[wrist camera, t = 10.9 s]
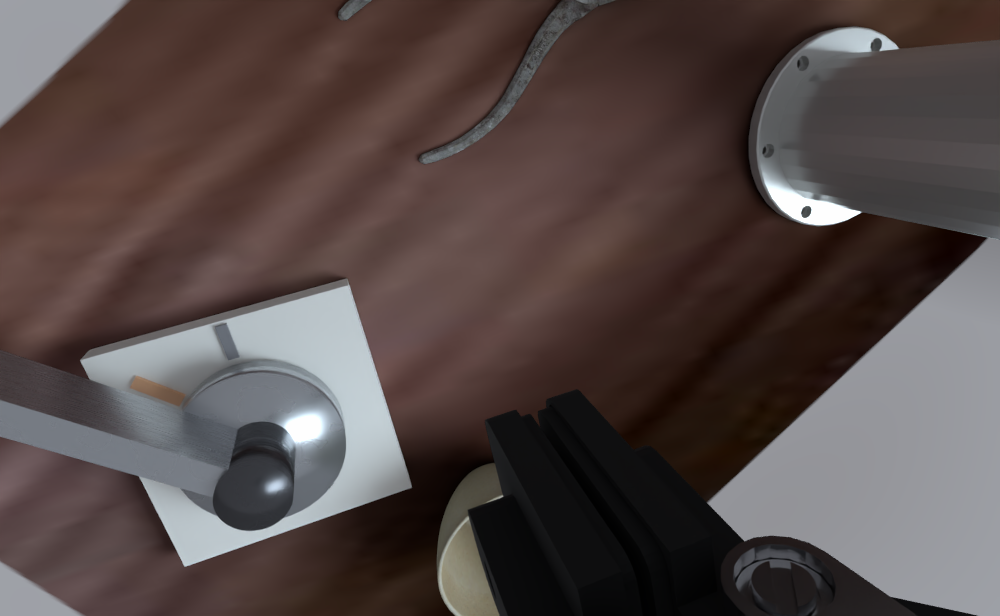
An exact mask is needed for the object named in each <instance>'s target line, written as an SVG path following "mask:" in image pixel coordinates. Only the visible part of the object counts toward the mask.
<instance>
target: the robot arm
mask: <svg viewBox="0 0 1000 616" xmlns="http://www.w3.org/2000/svg"><path fill="white" fill-rule="evenodd" d="M749 161H750V166H751V172H752V176H753V178H754V181H755V184H756V186H757V189H758V191H759V192H760V194H761V195H762V197H763V198H764V200H765V201H766V203H767V204H768V205H769V206H770V207H771V208H772V209H773V210H774V211H775V212H777V213H778V214H780V215H782V216H783V217H785V218H787V219H789V220H792V221H795V222H799V223H802V224H807V225H814V226H825V225H833V224H836V223H840V222H843V221H846V220H848V219H850V218H852V217H854V216H856V215H858V214H860V213H861V212H865V213H870V214H875V215H880V216H885V217H890V218H895V219H900V220H905V221H910V222H915V223H920V224H925V225H930V226H935V227H940V228H945V229H950V230H954V231H959V232H964V233H969V234H974V235H979V236H984V237H990V238H995V239H999V240H1000V40H993V41H982V42H971V43H960V44H949V45H938V46H927V47H916V48H905V49H899V48H898V47H897V45H896V44H895V43H894V42H893V41H891V40H890V39H889V38H888V37H886V36H885V35H884V34H881V33H879V32H877V31H875V30H872V29H870V28H863V27H856V26H854V27H844V28H836V29H831V30H827V31H823V32H820V33H818V34H816V35H814V36H812V37H810V38H807V39H805V40H804V41H803V42H801V43H800V44H799V45H797V46H796V47H795V48H793V49H792V50H791V51H790V52H789V53H788V54H787V55H786V56H785V57H784V58H783V59H782V60H781V61H780V62H779V63H778V65H777V66H776V67H775V69H774V70H773V72H772V73H771V75H770V76H769V78H768V79H767V81H766V82H765V85H764V87H763V89H762V91H761V93H760V95H759V97H758V99H757V102H756V106H755V109H754V112H753V115H752V119H751V125H750V132H749ZM546 407H547V408H546V409H543V410H540V411H538V418H539V423H540V427H539V425H538V424H537V423H536V421H535V420H534V418H533V417H532V415H531V414H528V415H525V416H522V417H521V416H520V415H519V413H518V412H517V411H516V410H513V411H510V412H507V413H504V414H501V415H498V416H495V417H492V418H489V419H486V420H485V425H486V430H487V434H488V438H489V442H490V446H491V450H492V454H493V458H494V462H495V466H496V470H497V474H498V478H499V482H500V486H501V490H502V494H503V497H502V498H499V499H496V500H493V501H490V502H488V503H485V504H482V505H479V506H477V507H474V508H471V509H468V516H469V520H470V524H471V527H472V531H473V535H474V538H475V542H476V545H477V549H478V552H479V556H480V559H481V562H482V566H483V569H484V572H485V575H486V578H487V581H488V584H489V587H490V590H491V593H492V596H493V599H494V602H495V605H496V607H497V610H498V613H499V616H976V615H972V614H968V613H963V612H958V611H954V610H949V609H944V608H940V607H935V606H930V605H925V604H921V603H917V602H912V601H907V600H903V599H898V598H893V597H890V596H888V595H887V594H885V593H884V592H883V591H881V590H880V589H878V588H877V587H875V586H874V585H873V584H871V583H870V582H868V581H867V580H865V579H864V578H862V577H861V576H860V575H858V574H857V573H855V572H854V571H852V570H851V569H850V568H848V567H847V566H845V565H844V564H842V563H841V562H839V561H838V560H836V559H835V558H833V557H832V556H831V555H829V554H828V553H826V552H825V551H823V550H821V549H819V548H817V547H816V546H814V545H812V544H810V543H807V542H804V541H801V540H798V539H794V538H791V537H780V536H764V537H756V538H752V539H750V540H747V541H744V540H743V539H741V537H740V536H739V535H738V534H737V533H736V532H735V531H734V530H733V529H732V528H731V527H730V526H729V525H728V524H727V523H726V522H725V521H724V520H723V519H722V518H721V517H720V516H719V515H718V514H717V513H716V512H715V511H714V510H713V509H712V508H711V507H710V506H709V505H708V504H707V502H706V501H705V500H704V499H703V498H702V497H701V496H700V495H699V494H698V493H697V492H696V491H695V490H694V489H693V488H692V487H691V486H690V485H689V484H688V483H687V482H686V481H685V480H684V479H683V478H682V477H681V476H680V475H679V474H678V473H677V472H676V471H675V470H674V469H673V468H672V467H671V466H670V465H669V464H668V463H667V461H666V460H665V459H664V458H663V457H662V456H661V455H660V454H659V453H658V452H657V451H656V450H654V449H653V448H652V447H651V446H643V447H640V448H637V449H635V450H633V449H632V448H631V447H630V446H629V445H628V443H627V442H626V441H625V440H624V439H623V438H622V437H621V436H620V435H619V434H618V432H617V431H616V430H615V429H614V428H613V427H612V426H611V425H610V424H609V423H608V421H607V420H606V419H605V418H604V417H603V416H602V415H601V414H600V413H599V412H598V411H597V409H596V408H595V407H594V406H593V405H592V404H591V403H590V402H589V401H588V400H587V398H586V397H585V396H584V395H583V394H582V393H581V392H580V391H579V390H573V391H570V392H567V393H564V394H561V395H558V396H555V397H552V398H549V399H547V401H546Z"/></svg>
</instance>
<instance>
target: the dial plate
mask: <svg viewBox="0 0 1000 616" xmlns="http://www.w3.org/2000/svg"><path fill="white" fill-rule="evenodd" d="M262 360H268V361H279V362H284V363H289V364H292V365H295V366H298V367H300V368H302V369H305V370H307V371H309V372H310V373H312V374H314V375H315V376H317V377H318V378H319V379H320V380H322V381H323V382H324V383H325V384H326V385H327V386H328V387H329V388H330V389H331V391H332V392H333V394H334V395H335V397H336V398H337V400H338V402H339V404H340V406H341V410H342V413H343V417H344V424H345V434H346V453H345V459H344V463H343V466H342V469H341V471H340V473H339V475H338V477H337V479H336V480H335V482H334V483H333V485H332V486H331V487H330V488H329V490H328V491H327V492H326V493H325V494H324V495H323V496H322V497H321V498H320V499H319V500H317V501H316V502H315V503H313V504H312V505H311V506H309V507H307V508H305V509H304V510H302V511H300V512H298V513H296V514H293V515H291V516H288V517H285V518H283V519H282V520H280V521H279V522H278V523H276V524H274V525H273V526H271V527H268V528H265V529H262V530H256V531H244V530H238V529H235V528H232V527H230V526H228V525H227V524H225V523H224V522H223V521H221V520H220V518H219V517H218V516H216V515H213V514H211V513H209V512H207V511H205V510H204V509H202V508H200V507H199V506H197V505H196V504H195V503H194V502H192V501H191V500H190V499H189V498H188V497H187V496H186V495H185V494H184V493H183V491H182V490H181V489H180V488H178V487H174V486H171V485H167V484H164V483H161V482H157V481H154V480H150V479H147V478H143V477H140V476H139V477H140V479H141V481H142V483H143V485H144V487H145V489H146V491H147V493H148V495H149V497H150V499H151V501H152V503H153V505H154V507H155V509H156V511H157V513H158V515H159V517H160V519H161V521H162V523H163V525H164V527H165V529H166V531H167V533H168V535H169V536H170V538H171V540H172V542H173V544H174V546H175V548H176V550H177V552H178V554H179V556H180V558H181V560H182V562H183V564H184V566H185V567H186V566H189V565H192V564H194V563H197V562H200V561H203V560H206V559H209V558H212V557H214V556H217V555H220V554H223V553H226V552H229V551H232V550H235V549H237V548H240V547H243V546H246V545H249V544H252V543H255V542H257V541H260V540H263V539H266V538H269V537H272V536H275V535H277V534H280V533H283V532H286V531H289V530H292V529H295V528H298V527H300V526H303V525H306V524H309V523H312V522H315V521H318V520H320V519H323V518H326V517H329V516H332V515H335V514H338V513H341V512H343V511H346V510H349V509H352V508H355V507H358V506H361V505H363V504H366V503H369V502H372V501H375V500H378V499H381V498H384V497H386V496H389V495H392V494H395V493H398V492H401V491H404V490H406V489H409V488H412V485H411V481H410V478H409V474H408V471H407V467H406V464H405V461H404V458H403V455H402V451H401V448H400V445H399V442H398V439H397V435H396V432H395V429H394V426H393V423H392V420H391V416H390V413H389V410H388V407H387V404H386V400H385V397H384V394H383V391H382V388H381V384H380V381H379V378H378V375H377V372H376V368H375V365H374V362H373V359H372V356H371V352H370V349H369V346H368V343H367V340H366V336H365V333H364V330H363V327H362V324H361V320H360V317H359V314H358V311H357V308H356V304H355V301H354V298H353V295H352V292H351V288H350V285H349V282H348V279H347V278H346V279H343V280H339V281H335V282H332V283H328V284H325V285H321V286H317V287H314V288H310V289H307V290H303V291H299V292H296V293H292V294H289V295H285V296H281V297H278V298H274V299H271V300H267V301H263V302H260V303H256V304H253V305H249V306H245V307H242V308H238V309H235V310H231V311H227V312H224V313H220V314H216V315H213V316H209V317H206V318H202V319H198V320H195V321H191V322H188V323H184V324H180V325H177V326H173V327H170V328H166V329H162V330H159V331H155V332H152V333H148V334H144V335H141V336H137V337H134V338H130V339H126V340H123V341H119V342H116V343H112V344H108V345H105V346H101V347H98V348H94V349H90V350H89V351H88V352H87V353H86V354H85V355H84V356H83V358H82V359H81V360H80V361H81V363H82V365H83V367H84V369H85V371H86V373H87V375H88V377H89V379H90V380H92V381H95V382H98V383H101V384H104V385H107V386H110V387H113V388H116V389H119V390H122V391H125V392H128V393H131V394H134V395H137V396H140V397H143V398H146V399H149V400H152V401H155V402H158V403H161V404H164V405H167V406H170V407H173V408H176V409H179V410H181V409H182V407H183V405H184V404H185V402H186V400H187V398H188V397H189V396H190V394H191V393H192V392H193V391H194V389H195V388H196V387H198V386H199V385H200V384H201V383H202V382H203V381H204V380H206V379H207V378H208V377H210V376H211V375H213V374H215V373H216V372H218V371H220V370H222V369H225V368H227V367H230V366H232V365H236V364H239V363H243V362H250V361H262Z"/></svg>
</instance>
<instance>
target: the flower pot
mask: <svg viewBox="0 0 1000 616" xmlns="http://www.w3.org/2000/svg"><path fill="white" fill-rule="evenodd" d="M502 497H503V494H502V490H501V486H500V482H499V478H498V474H497V470H496V466H495V463H490V464H486V465H483V466H480V467H478V468H476V469H475V470H473V471H472V472H470V473H469V474H468V475H467V476H466V477H465V478H464V479H463V480H462V481H461V483H460V484H459V485H458V487H457V488H456V490H455V491H454V493H453V495H452V497H451V499H450V501H449V503H448V505H447V508H446V510H445V513H444V516H443V520H442V523H441V527H440V532H439V538H438V547H437V576H438V585H439V590H440V593H441V596H442V598H443V600H444V602H445V604H446V605H447V607H448V608H449V610H450V611H451V612H452V613H453V614H454V615H455V616H499V613H498V610H497V607H496V605H495V602H494V599H493V596H492V593H491V590H490V587H489V584H488V581H487V578H486V575H485V572H484V569H483V566H482V562H481V559H480V556H479V552H478V549H477V545H476V542H475V538H474V535H473V531H472V527H471V524H470V520H469V516H468V509H471V508H474V507H477V506H479V505H482V504H485V503H488V502H490V501H493V500H496V499H499V498H502Z"/></svg>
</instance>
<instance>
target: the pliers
mask: <svg viewBox="0 0 1000 616" xmlns="http://www.w3.org/2000/svg"><path fill="white" fill-rule="evenodd" d="M370 1H372V0H349V1H348V2H347V3H346V4H345V5H344V6H343V7H342V8H341V9H340V11H339V12H338V18H339V19H340V20H347V19H349V18H350V17H351V16H352V15H354V14H355V13H356V12H357V11H359V10H360V9H361V8H362V7H363V6H365V5H366V4H367V3H368V2H370ZM612 1H615V0H562V1H560V2H559V4H558V5H557V6H556V7H555V9H554V10H553V11H552V12H551V14H550V15H549V16H548V17H547V19H546V20H545V22H544V23H543V24H542V26H541V27H540V29H539V30H538V32H537V33H536V35H535V37H534V39H533V40H532V42H531V44H530V46H529V48H528V50H527V52H526V54H525V56H524V58H523V60H522V62H521V64H520V66H519V68H518V69H517V71H516V73H515V75H514V77H513V79H512V81H511V82H510V84H509V86H508V88H507V89H506V91H505V93H504V94H503V96H502V98H501V99H500V101H499V102H498V104H497V105H496V106H495V107H494V109H493V110H492V111H491V112H490V113H489V115H488V116H487V117H486V118H485V119H484V120H482V121H481V122H480V123H479V124H478V125H477V126H476V127H474V128H473V129H472V130H470V131H469V132H467V133H466V134H465V135H463V136H462V137H460V138H459V139H457V140H455V141H453V142H451V143H449V144H447V145H445V146H442V147H440V148H437V149H434V150H432V151H429V152H427V153H424V154H422V155H421V156H420V158H419V162H421V163H423V164H427V163H431V162H435V161H438V160H441V159H444V158H446V157H449V156H451V155H453V154H455V153H457V152H459V151H461V150H463V149H465V148H467V147H468V146H470V145H471V144H473V143H474V142H476V141H478V140H479V139H481V138H482V137H483V136H484V135H486V134H487V133H488V132H489V131H491V130H492V129H493V128H494V127H496V126H497V125H498V124H499V123H500V121H501V120H502V119H503V118H504V117H505V116H506V115H507V114H508V113H509V112H510V110H511V109H512V107H513V106H514V105H515V103H516V102H517V101H518V99H519V98H520V96H521V94H522V93H523V91H524V90H525V88H526V86H527V85H528V83H529V81H530V80H531V78H532V77H533V75H534V73H535V72H536V70H537V68H538V67H539V65H540V64H541V62H542V60H543V59H544V57H545V56H546V54H547V53H548V51H549V50H550V48H551V47H552V45H553V44H554V42H555V41H556V40H557V39H558V37H559V36H560V35H561V34H562V32H563V31H564V30H566V29H567V28H568V27H569V26H570V25H571V24H573V23H574V22H575V21H577V20H579V19H580V18H582V17H583V16H584V15H586V14H587V13H589V12H590V11H591V10H593V9H594V8H595V7H597V6H600V5H603V4H606V3H609V2H612Z"/></svg>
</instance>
